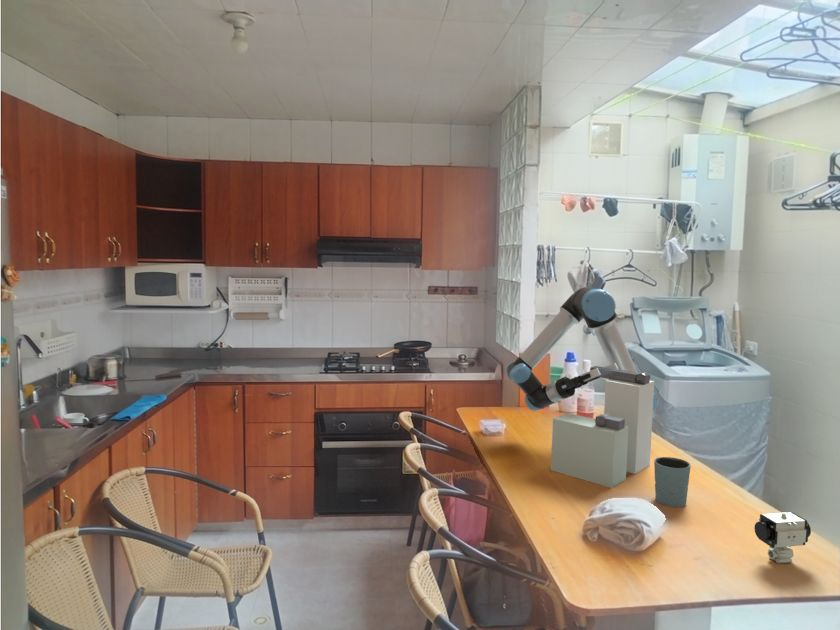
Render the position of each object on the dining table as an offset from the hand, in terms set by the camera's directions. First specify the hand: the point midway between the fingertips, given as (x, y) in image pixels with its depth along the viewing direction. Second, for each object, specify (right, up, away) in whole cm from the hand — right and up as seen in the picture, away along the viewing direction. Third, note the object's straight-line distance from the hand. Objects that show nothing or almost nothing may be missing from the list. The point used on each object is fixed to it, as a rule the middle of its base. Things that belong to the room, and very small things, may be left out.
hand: (608, 368), depth 211 cm
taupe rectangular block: (+6, -34, -2) cm, 34 cm away
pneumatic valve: (+21, -41, -67) cm, 81 cm away
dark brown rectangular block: (+3, -3, -3) cm, 5 cm away
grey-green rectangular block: (-10, -34, -12) cm, 38 cm away
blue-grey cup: (+9, -37, -32) cm, 50 cm away
